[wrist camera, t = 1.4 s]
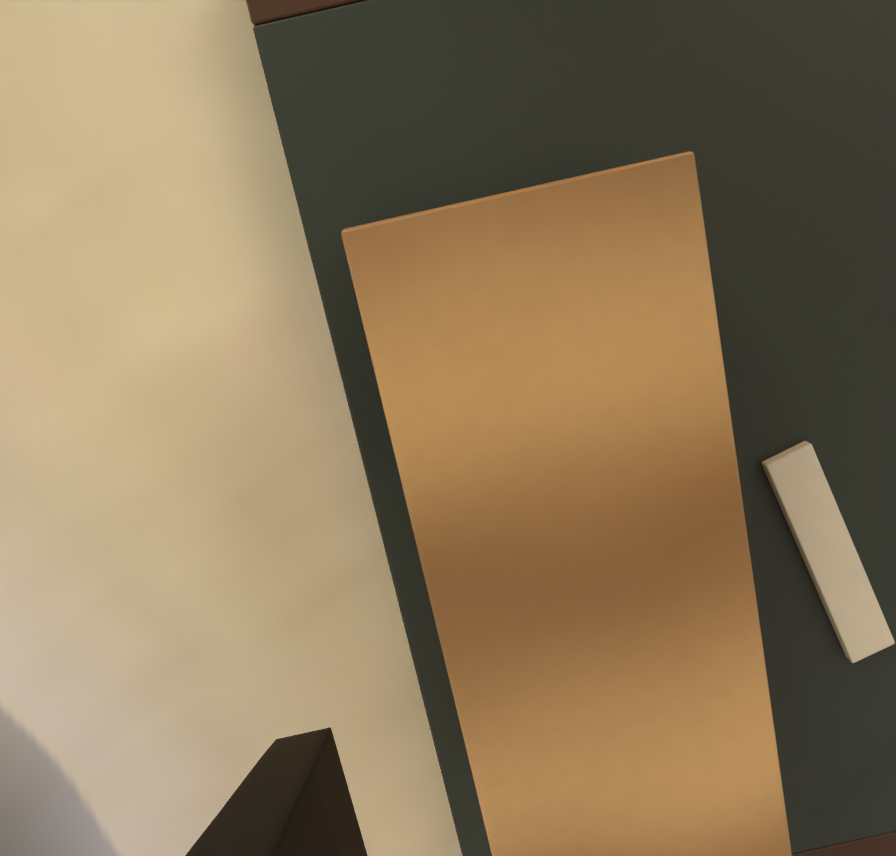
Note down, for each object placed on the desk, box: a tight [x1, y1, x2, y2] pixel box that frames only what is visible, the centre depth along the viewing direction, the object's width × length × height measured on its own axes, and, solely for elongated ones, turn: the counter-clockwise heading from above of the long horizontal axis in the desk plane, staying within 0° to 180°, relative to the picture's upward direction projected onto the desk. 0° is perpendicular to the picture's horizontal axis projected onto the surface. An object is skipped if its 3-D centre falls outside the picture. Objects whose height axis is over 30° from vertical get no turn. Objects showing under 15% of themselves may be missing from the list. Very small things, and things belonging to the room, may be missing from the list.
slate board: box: [246, 0, 896, 856], centre depth 17 cm, size 22×18×1 cm
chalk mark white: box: [761, 441, 895, 663], centre depth 17 cm, size 5×1×1 cm, turn 27°
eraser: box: [341, 151, 792, 856], centre depth 15 cm, size 12×5×4 cm, turn 12°
